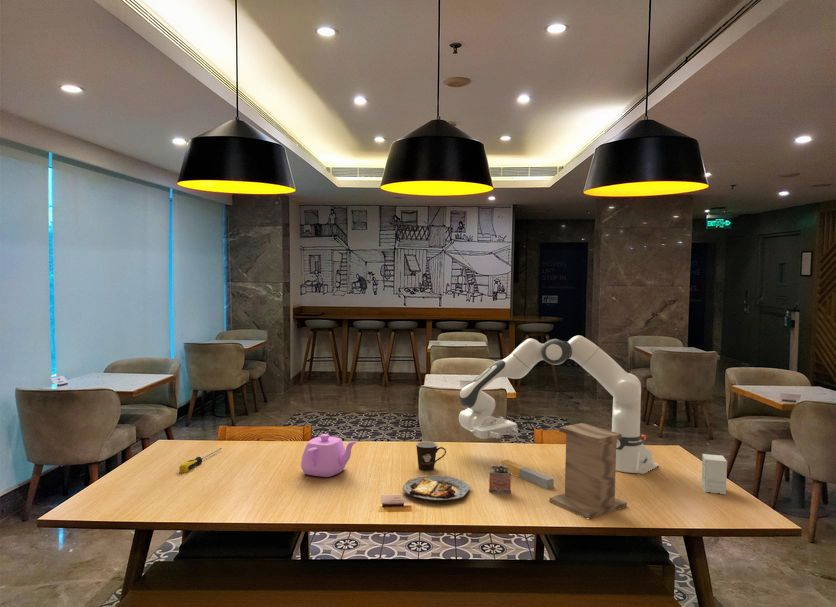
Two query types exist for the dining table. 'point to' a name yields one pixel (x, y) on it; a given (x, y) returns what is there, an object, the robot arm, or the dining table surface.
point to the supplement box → (714, 473)
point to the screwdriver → (192, 463)
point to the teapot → (325, 456)
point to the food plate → (428, 488)
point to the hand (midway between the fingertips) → (508, 434)
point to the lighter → (500, 480)
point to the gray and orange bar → (529, 474)
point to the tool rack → (589, 471)
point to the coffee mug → (427, 455)
